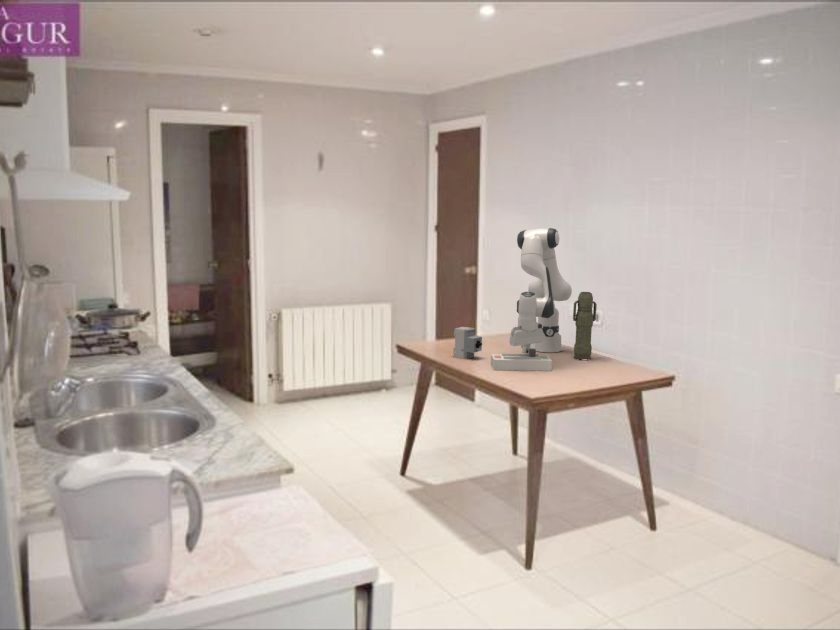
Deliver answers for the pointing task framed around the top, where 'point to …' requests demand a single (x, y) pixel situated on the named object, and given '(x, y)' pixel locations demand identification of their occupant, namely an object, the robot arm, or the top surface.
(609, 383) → the top surface
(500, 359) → the white slider track board
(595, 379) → the top surface
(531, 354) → the breaker toggle
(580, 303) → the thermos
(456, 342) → the circuit breaker
